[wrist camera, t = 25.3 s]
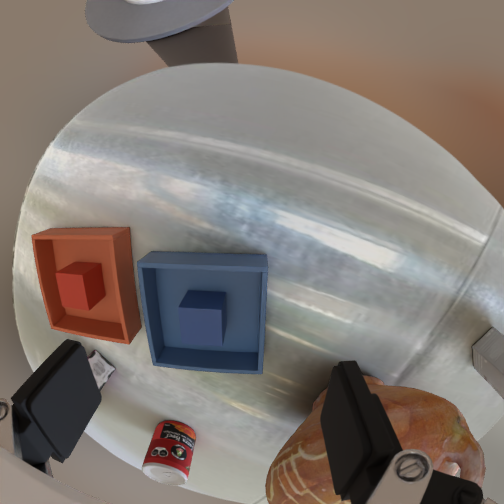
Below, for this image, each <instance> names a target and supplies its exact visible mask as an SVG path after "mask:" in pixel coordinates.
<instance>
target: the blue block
mask: <svg viewBox="0 0 504 504" xmlns="http://www.w3.org/2000/svg"><path fill="white" fill-rule="evenodd" d="M178 313H179V323H180V332H181V341H182V344H193V345H206V346H221V347H222V346H223V342H224V337H225V332H226V327H227V311H226V292H215V291H194V290H188V291H187V293H186V294H185V296H184V298H183V299H182V301H181V303H180V305H179V306H178Z"/></svg>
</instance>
